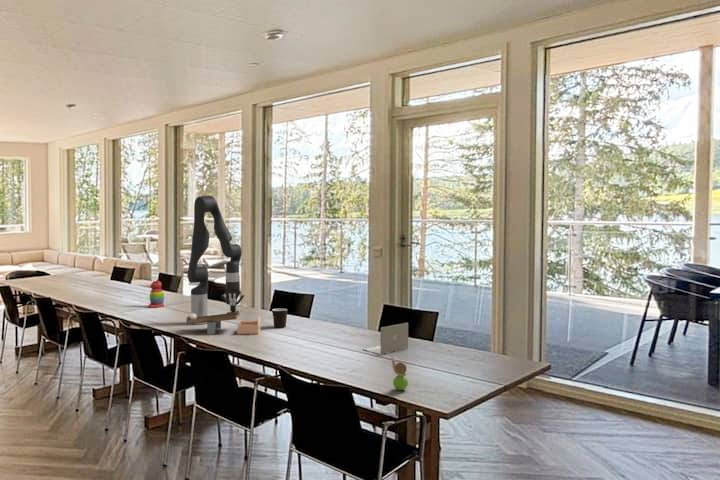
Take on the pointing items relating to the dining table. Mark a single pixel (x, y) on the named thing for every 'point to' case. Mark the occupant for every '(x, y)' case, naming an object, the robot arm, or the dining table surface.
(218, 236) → the robot arm
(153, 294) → the stacking bear
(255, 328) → the cup
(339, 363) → the dining table surface
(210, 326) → the lever stand
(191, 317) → the ball
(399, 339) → the laptop
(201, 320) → the lever
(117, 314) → the dining table surface
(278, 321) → the coffee mug
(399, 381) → the snail figurine
